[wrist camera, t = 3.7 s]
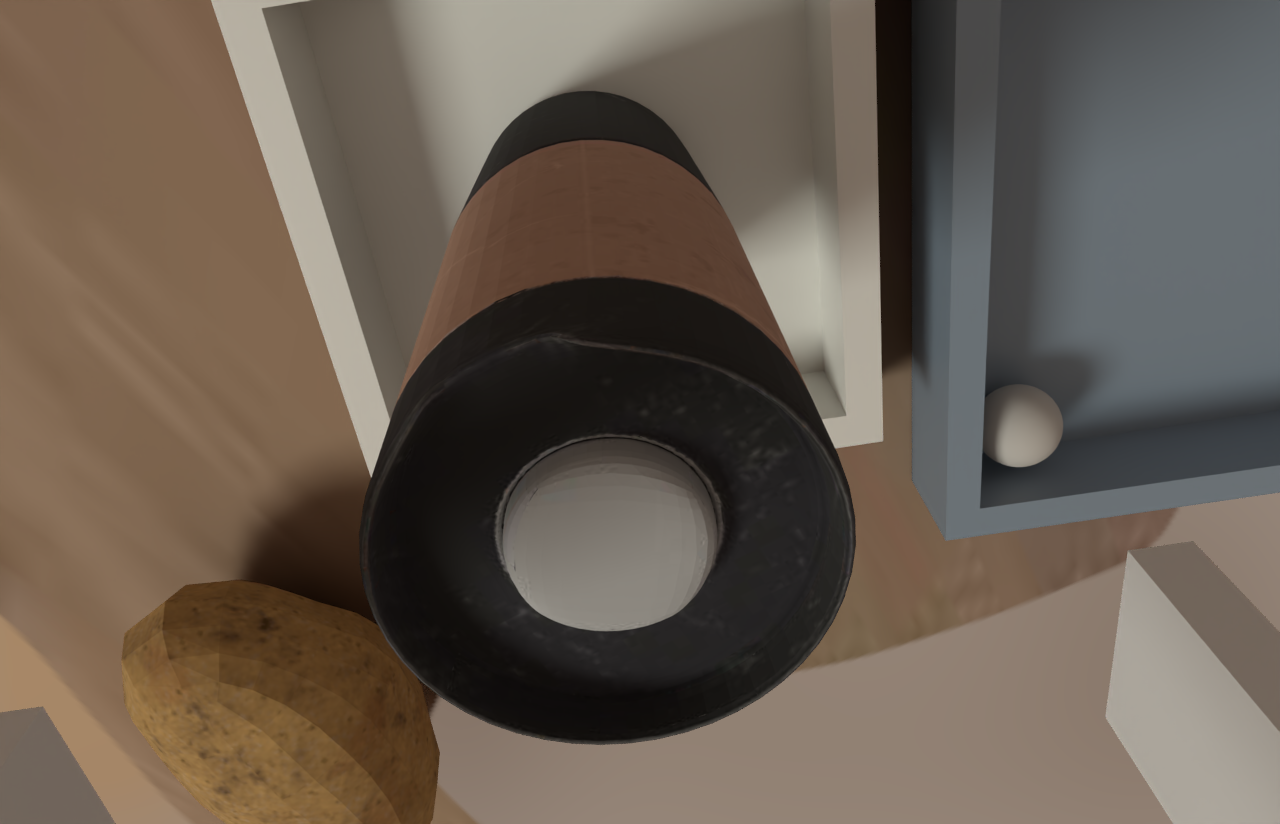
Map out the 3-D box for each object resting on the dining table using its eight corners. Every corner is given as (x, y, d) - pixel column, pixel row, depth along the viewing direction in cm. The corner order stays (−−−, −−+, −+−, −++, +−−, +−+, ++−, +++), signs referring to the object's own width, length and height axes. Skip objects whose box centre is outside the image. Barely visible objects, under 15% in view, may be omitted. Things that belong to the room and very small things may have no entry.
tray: (403, 454, 36) (383, 514, 32) (249, -44, 27) (199, -35, 24) (853, 387, 35) (883, 441, 32) (834, -139, 27) (872, -144, 23)
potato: (300, 471, 36) (230, 611, 29) (505, 698, 42) (489, 858, 35) (108, 578, 38) (-1, 733, 31) (330, 780, 44) (282, 947, 37)
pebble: (960, 445, 36) (990, 488, 33) (962, 376, 35) (993, 416, 32) (1038, 434, 36) (1074, 476, 33) (1044, 364, 34) (1081, 403, 32)
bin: (912, 480, 37) (945, 540, 34) (911, -96, 28) (958, -96, 24) (1428, 405, 37) (1517, 458, 33) (1615, -210, 27) (1768, -226, 24)
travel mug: (658, 329, 34) (752, 787, 16) (450, 268, 32) (306, 704, 15) (736, 122, 31) (958, 421, 13) (508, 43, 29) (411, 262, 11)
